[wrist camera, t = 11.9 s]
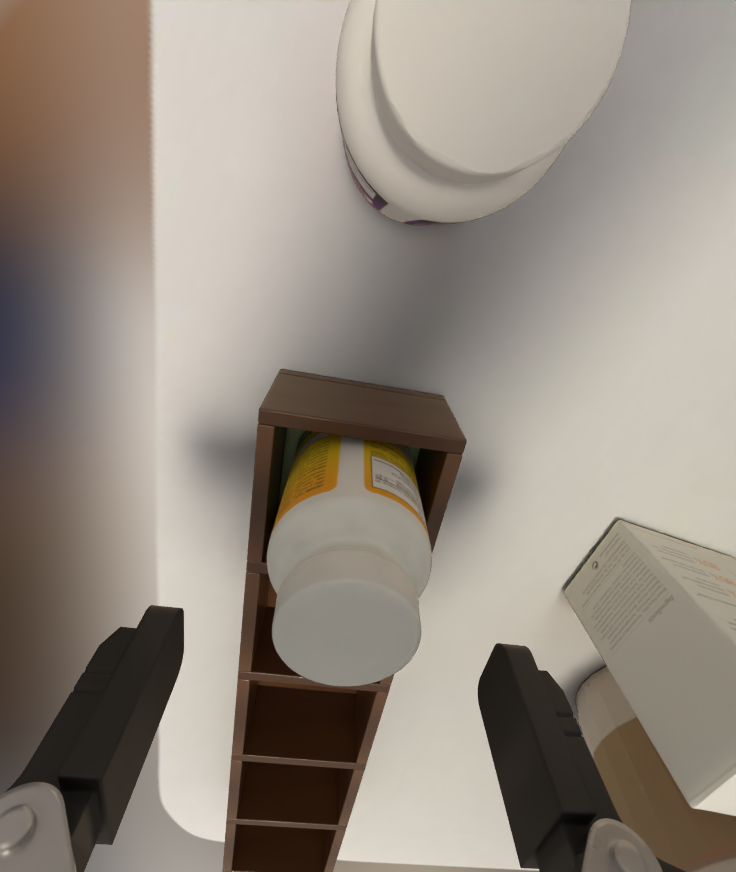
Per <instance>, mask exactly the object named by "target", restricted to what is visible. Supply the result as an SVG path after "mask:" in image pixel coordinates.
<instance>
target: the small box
mask: <svg viewBox="0 0 736 872" xmlns="http://www.w3.org/2000/svg"><path fill="white" fill-rule="evenodd" d="M564 594H565V596H566V598H567V599H568V601H569V603H570V604H571V606H572V608H573V609H574V611H575V613H576V615H577V616H578V618H579V620H580V621H581V623H582V625H583V626H584V628H585V630H586V631H587V633H588V635H589V637H590V638H591V640H592V642H593V644H594V645H595V647H596V649H597V650H598V652H599V654H600V655H601V657H602V659H603V660H604V662H605V664H606V665H607V667H608V669H609V670H610V672H611V674H612V676H613V677H614V679H615V681H616V682H617V684H618V686H619V687H620V689H621V691H622V692H623V694H624V696H625V698H626V699H627V701H628V703H629V705H630V706H631V708H632V710H633V711H634V713H635V715H636V716H637V718H638V720H639V721H640V723H641V725H642V726H643V728H644V730H645V732H646V733H647V735H648V737H649V738H650V740H651V742H652V743H653V745H654V747H655V748H656V750H657V752H658V753H659V755H660V757H661V758H662V760H663V762H664V763H665V765H666V767H667V768H668V770H669V772H670V774H671V775H672V777H673V779H674V781H675V782H676V784H677V786H678V787H679V789H680V790H681V792H682V794H683V796H684V797H685V799H686V801H687V803H688V804H689V805H690V807H692V808H694V809H701V810H707V811H712V812H717V813H722V814H727V815H732V816H736V559H735V558H733V557H730V556H727V555H724V554H720V553H717V552H714V551H711V550H708V549H705V548H702V547H700V546H696V545H693V544H690V543H687V542H684V541H681V540H678V539H675V538H672V537H669V536H666V535H663V534H660V533H657V532H654V531H651V530H648V529H645V528H642V527H639V526H636V525H633V524H630V523H627V522H625V521H622V520H618V521H617V522H616V523H615V525H614V526H613V527H612V528H611V530H610V531H609V533H608V534H607V535H606V536H605V538H604V539H603V540H602V542H601V543H600V544H599V546H598V547H597V548H596V550H595V551H594V552H593V554H592V555H591V556H590V558H589V559H588V560H587V562H586V563H585V564H584V566H583V567H582V568H581V570H580V571H579V572H578V573H577V575H576V576H575V577H574V579H573V580H572V581H571V583H570V584H569V585H568V587H567V588H566V589H565V591H564Z"/></svg>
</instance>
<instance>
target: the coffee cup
mask: <svg viewBox="0 0 736 872" xmlns="http://www.w3.org/2000/svg"><path fill="white" fill-rule="evenodd" d="M576 707H577V710H578V713H579V714H578V721H579V724H580V727H581V730H582V733H583V737H584V739H585V742H586V744H587V746H588V748H589V751H590V753H591V755H592V757H593V760H594V762H595V764H596V766H597V769H598V771H599V773H600V775H601V778H602V780H603V782H604V784H605V787H606V789H607V791H608V793H609V796H610V798H611V800H612V802H613V805H614V807H615V809H616V811H617V813H618V815H619V817H620V819H621V820H622V822H623V824H625V825H626V826H628V827H629V828H631V829H632V830H633V831H634V832H636V833H637V834H638V835H639V836H640V837H641V838H642V839H643V840H644V842H645V843H646V844H647V845H648V846H649V848H650V849H651V851H652V852H653V854H654V855H655V856H656V857H657V858H659V859H661V860H662V861H664V862H666V863H668V864H671V865H673V866H675V867H677V868H679V869H681V870H684V871H686V872H736V816H732V815H727V814H722V813H717V812H712V811H707V810H701V809H694V808H692V807H690V805H689V804H688V803H687V801H686V799H685V797H684V796H683V794H682V792H681V790H680V789H679V787H678V786H677V784H676V782H675V781H674V779H673V777H672V775H671V774H670V772H669V770H668V768H667V767H666V765H665V763H664V762H663V760H662V758H661V757H660V755H659V753H658V752H657V750H656V748H655V747H654V745H653V743H652V742H651V740H650V738H649V737H648V735H647V733H646V732H645V730H644V728H643V726H642V725H641V723H640V721H639V720H638V718H637V716H636V715H635V713H634V711H633V710H632V708H631V706H630V705H629V703H628V701H627V699H626V698H625V696H624V694H623V692H622V691H621V689H620V687H619V686H618V684H617V682H616V681H615V679H614V677H613V676H612V674H611V672H610V670H609V669H608V667H607V666H606V667H604V668H603V669H601V670H599V671H597V672H596V673H594V674H592V675H591V676H590V677H589V678H588V679H587V680H586V681H585V682H584V683H583V684H582V686H581V687H580V689H579V691H578V693H577V695H576Z"/></svg>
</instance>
